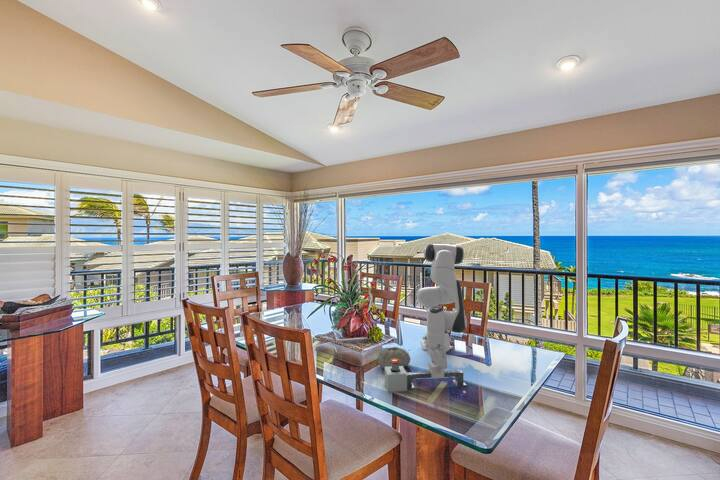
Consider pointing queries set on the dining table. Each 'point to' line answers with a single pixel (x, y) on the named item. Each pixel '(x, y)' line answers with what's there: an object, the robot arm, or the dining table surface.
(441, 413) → the dining table surface
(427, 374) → the rail
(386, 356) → the decorative shell
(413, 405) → the dining table surface
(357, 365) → the dining table surface
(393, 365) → the button
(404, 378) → the push button box
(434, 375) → the carriage
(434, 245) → the robot arm
